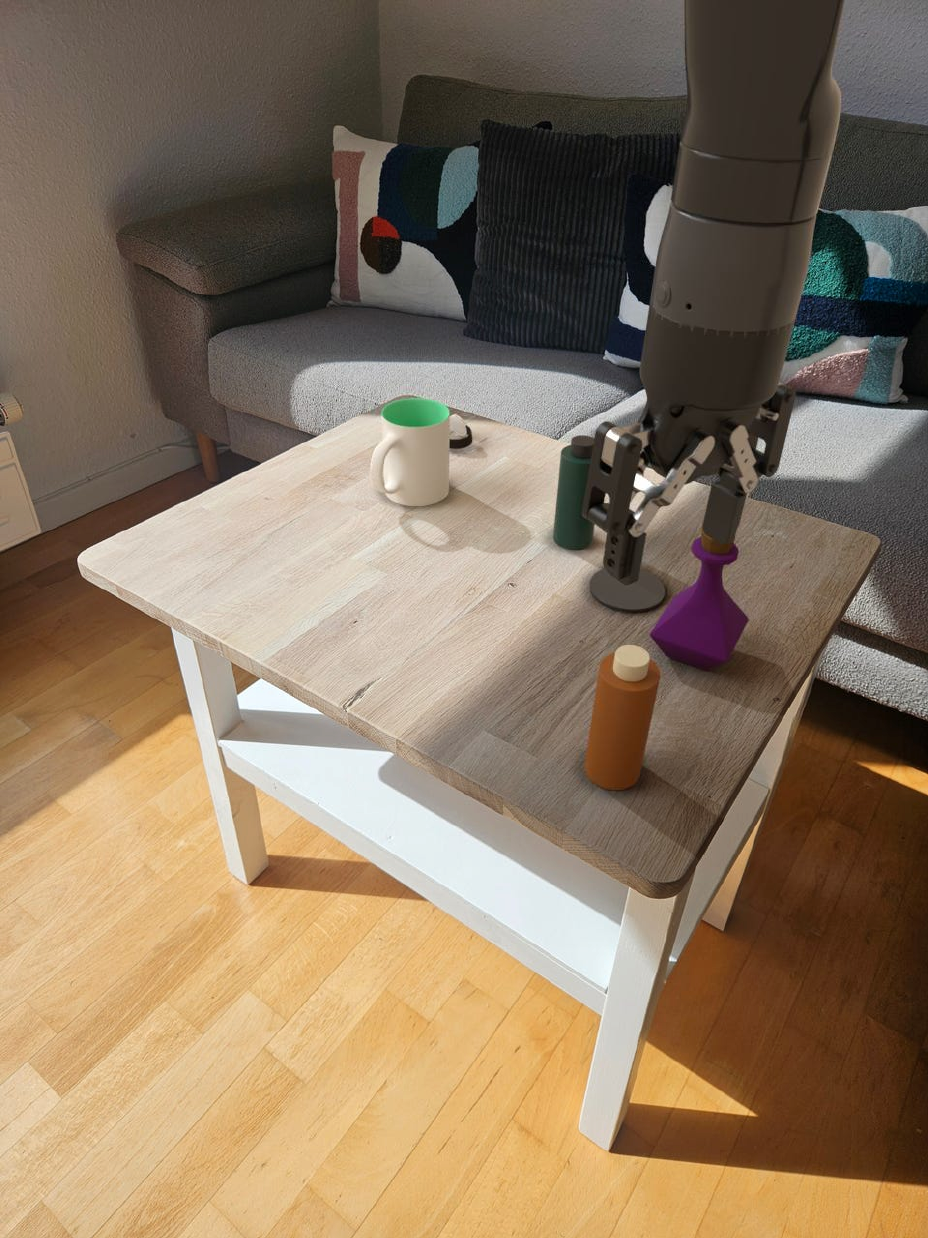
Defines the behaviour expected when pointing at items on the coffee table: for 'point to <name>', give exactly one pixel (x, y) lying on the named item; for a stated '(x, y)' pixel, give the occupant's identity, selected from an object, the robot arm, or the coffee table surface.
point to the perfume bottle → (703, 612)
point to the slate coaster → (627, 592)
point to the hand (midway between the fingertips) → (670, 557)
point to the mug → (413, 452)
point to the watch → (460, 433)
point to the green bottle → (573, 495)
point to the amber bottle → (621, 717)
